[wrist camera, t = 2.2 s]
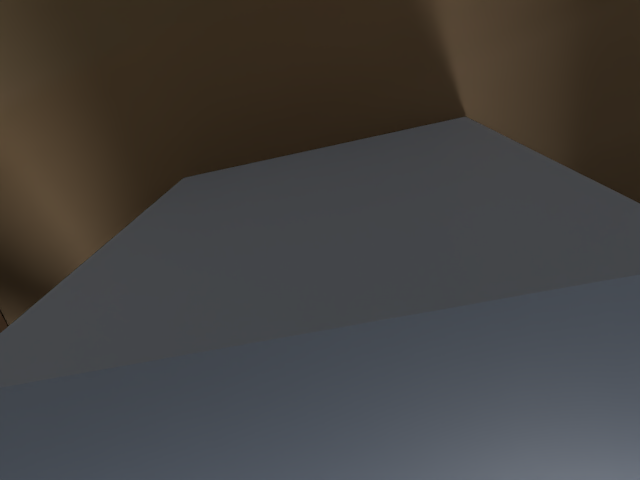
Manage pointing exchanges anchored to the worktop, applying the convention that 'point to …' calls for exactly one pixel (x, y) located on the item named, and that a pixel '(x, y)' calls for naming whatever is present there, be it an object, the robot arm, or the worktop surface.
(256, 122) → the worktop surface
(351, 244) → the pale blue cuboid
